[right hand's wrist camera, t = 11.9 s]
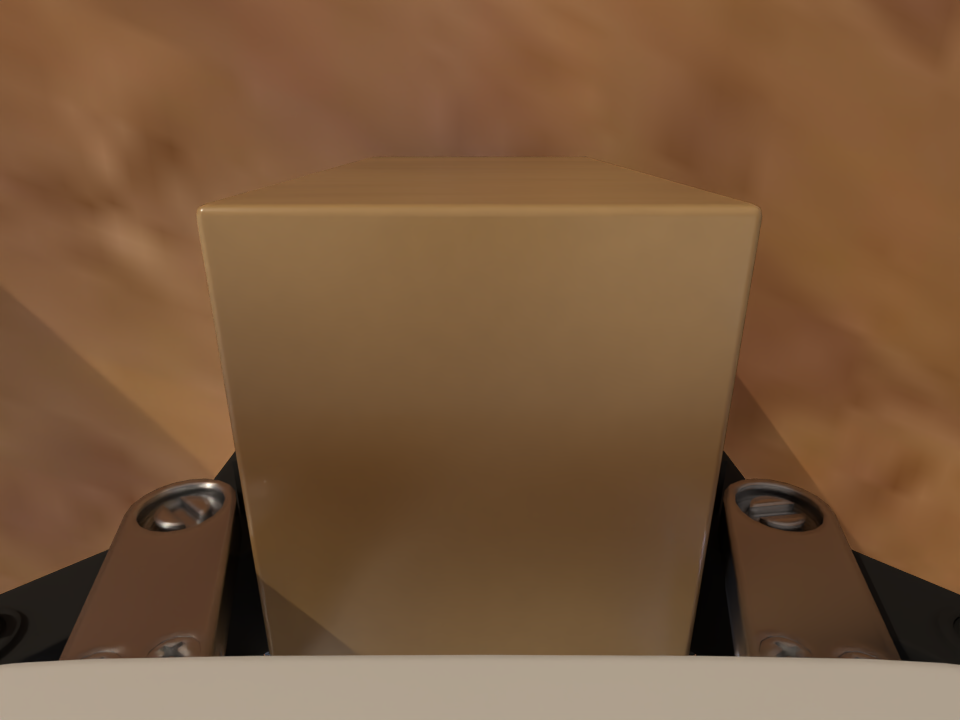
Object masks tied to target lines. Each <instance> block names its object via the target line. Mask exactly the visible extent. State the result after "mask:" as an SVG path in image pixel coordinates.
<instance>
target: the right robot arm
mask: <svg viewBox="0 0 960 720" xmlns="http://www.w3.org/2000/svg"><path fill="white" fill-rule="evenodd" d="M263 654H265V655H270V653H269V647H268V641H267V635H266V629H265V623H264V617H263V612H262V606H261V600H260V594H259V588H258V582H257V576H256V570H255V564H254V558H253V552H252V546H251V540H250V534H249V528H248V522H247V516H246V510H245V505H244V499H243V493H242V487H241V481H240V475H239V469H238V463H237V457H236V451H235V452H234V454H233V455H232V456H231V458H230V459H229V460H228V462H227V463H226V464H225V466H224V467H223V468H222V470H221V471H220V472H219V473H218V475H217V476H216V477H215V479H214V480H212V479H193V480H186V481H181V482H176V483H172V484H170V485H167V486H164V487H161V488H158V489H156V490H154V491H152V492H150V493H148V494H147V495H145V496H143V497H142V498H140V499H139V500H138V501H136V502H135V503H134V504H133V505H131V507H130V508H129V510H128V511H127V512H126V514H125V515H124V517H123V520H122V522H121V524H120V526H119V528H118V531H117V533H116V535H115V537H114V539H113V542H112V544H111V546H110V548H109V550H106V551H104V552H101V553H99V554H97V555H94V556H92V557H89V558H87V559H85V560H82V561H80V562H77V563H75V564H73V565H70V566H68V567H65V568H63V569H61V570H58V571H56V572H53V573H51V574H48V575H46V576H44V577H41V578H39V579H36V580H34V581H32V582H29V583H27V584H24V585H22V586H20V587H17V588H15V589H12V590H10V591H8V592H5V593H3V594H0V720H960V595H959V594H957V593H954V592H952V591H950V590H947V589H945V588H942V587H940V586H938V585H935V584H933V583H930V582H928V581H925V580H923V579H921V578H918V577H916V576H913V575H911V574H909V573H906V572H904V571H901V570H899V569H897V568H894V567H892V566H889V565H887V564H885V563H882V562H880V561H877V560H875V559H873V558H870V557H868V556H865V555H863V554H860V553H858V552H856V551H853V550H851V548H850V546H849V544H848V542H847V539H846V537H845V535H844V533H843V531H842V528H841V526H840V524H839V522H838V520H837V517H836V515H835V514H834V512H833V511H832V510H831V508H830V507H829V505H827V504H826V503H825V502H823V501H822V500H821V499H820V498H818V497H817V496H815V495H813V494H811V493H810V492H808V491H806V490H804V489H802V488H799V487H796V486H793V485H790V484H788V483H784V482H779V481H774V480H767V479H748V480H745V478H744V477H743V476H742V474H741V473H740V472H739V470H738V469H737V468H736V466H735V465H734V464H733V462H732V461H731V460H730V458H729V457H728V456H727V454H726V453H725V452H724V450H723V454H722V460H721V466H720V472H719V478H718V484H717V490H716V496H715V502H714V508H713V514H712V520H711V526H710V532H709V538H708V544H707V550H706V556H705V562H704V568H703V574H702V580H701V586H700V592H699V598H698V604H697V610H696V616H695V622H694V628H693V634H692V639H691V645H690V651H689V655H695V654H696V656H617V655H343V656H264V655H263Z"/></svg>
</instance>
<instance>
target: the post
mask: <svg viewBox="0 0 960 720" xmlns="http://www.w3.org/2000/svg"><path fill="white" fill-rule="evenodd" d="M196 219H197V225H198V231H199V237H200V243H201V249H202V255H203V261H204V267H205V273H206V279H207V285H208V291H209V297H210V302H211V308H212V314H213V320H214V326H215V332H216V338H217V344H218V350H219V356H220V362H221V368H222V374H223V380H224V386H225V392H226V398H227V404H228V409H229V415H230V421H231V427H232V433H233V439H234V445H235V451H236V457H237V463H238V469H239V475H240V481H241V487H242V493H243V499H244V505H245V510H246V516H247V522H248V528H249V534H250V540H251V546H252V552H253V558H254V564H255V570H256V576H257V582H258V588H259V594H260V600H261V606H262V612H263V617H264V623H265V629H266V635H267V641H268V647H269V653H270V656H343V655H617V656H689V651H690V645H691V639H692V634H693V628H694V622H695V616H696V610H697V604H698V598H699V592H700V586H701V580H702V574H703V568H704V562H705V556H706V550H707V544H708V538H709V532H710V526H711V520H712V514H713V508H714V502H715V496H716V490H717V484H718V478H719V472H720V466H721V460H722V454H723V448H724V442H725V436H726V430H727V424H728V418H729V412H730V406H731V400H732V394H733V388H734V382H735V376H736V370H737V364H738V358H739V352H740V346H741V340H742V334H743V328H744V322H745V316H746V310H747V304H748V298H749V292H750V286H751V280H752V274H753V268H754V262H755V256H756V250H757V244H758V239H759V233H760V227H761V221H762V213H761V208H760V207H758V206H756V205H754V204H752V203H748V202H745V201H741V200H737V199H734V198H730V197H727V196H723V195H720V194H716V193H713V192H709V191H706V190H702V189H698V188H695V187H691V186H688V185H684V184H681V183H677V182H674V181H670V180H667V179H663V178H659V177H656V176H652V175H649V174H645V173H642V172H638V171H635V170H631V169H628V168H624V167H621V166H617V165H613V164H610V163H606V162H603V161H599V160H596V159H592V158H589V157H370V158H367V159H363V160H360V161H356V162H352V163H349V164H345V165H342V166H338V167H335V168H331V169H328V170H324V171H321V172H317V173H313V174H310V175H306V176H303V177H299V178H296V179H292V180H289V181H285V182H281V183H278V184H274V185H271V186H267V187H264V188H260V189H257V190H253V191H250V192H246V193H242V194H239V195H235V196H232V197H228V198H225V199H221V200H218V201H214V202H210V203H207V204H204V205H202V206H200V207H198V209H197V214H196Z"/></svg>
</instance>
